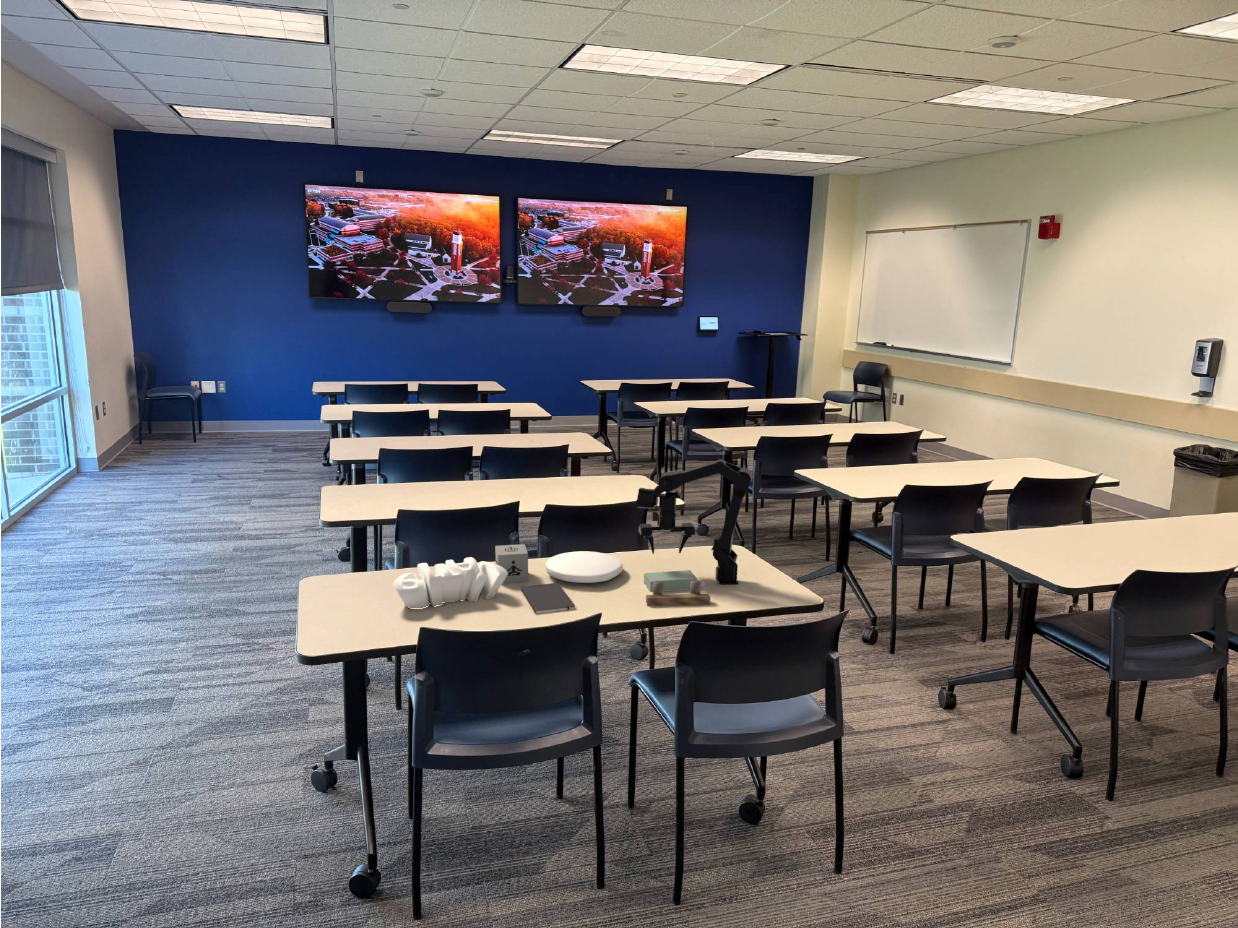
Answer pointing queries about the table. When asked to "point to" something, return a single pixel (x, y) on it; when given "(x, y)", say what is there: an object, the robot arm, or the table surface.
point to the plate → (583, 567)
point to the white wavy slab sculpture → (450, 583)
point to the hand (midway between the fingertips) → (666, 553)
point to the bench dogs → (677, 596)
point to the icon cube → (513, 562)
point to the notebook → (547, 598)
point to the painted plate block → (670, 579)
